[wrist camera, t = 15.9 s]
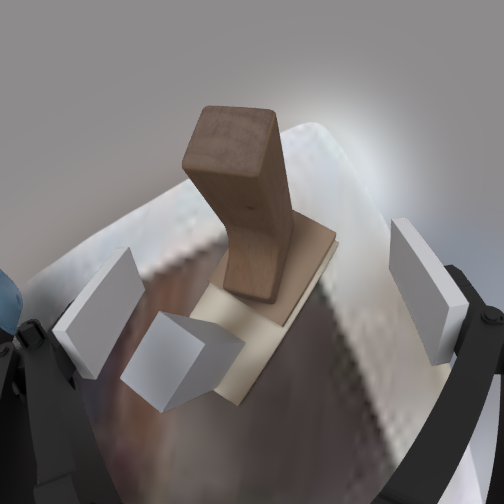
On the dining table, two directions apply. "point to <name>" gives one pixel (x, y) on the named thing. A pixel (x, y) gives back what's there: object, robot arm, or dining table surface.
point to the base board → (247, 333)
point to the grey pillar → (180, 360)
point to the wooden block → (245, 194)
